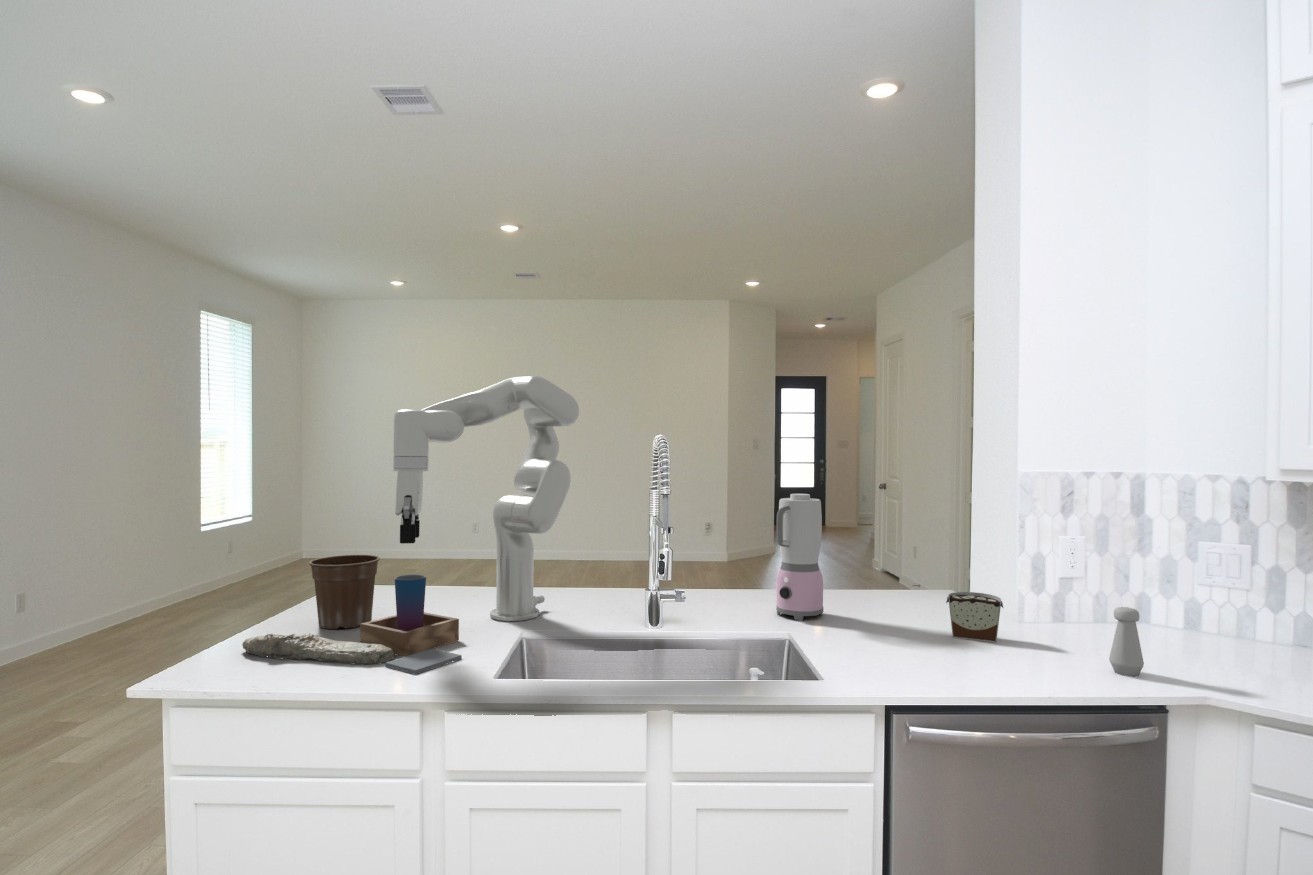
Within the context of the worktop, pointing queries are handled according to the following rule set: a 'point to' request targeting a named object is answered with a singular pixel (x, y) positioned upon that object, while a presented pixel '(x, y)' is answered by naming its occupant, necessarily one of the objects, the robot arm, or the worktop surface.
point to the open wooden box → (411, 634)
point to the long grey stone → (317, 649)
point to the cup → (410, 601)
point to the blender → (799, 556)
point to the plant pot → (344, 589)
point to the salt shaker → (1126, 643)
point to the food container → (974, 615)
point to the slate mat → (423, 661)
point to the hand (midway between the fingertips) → (409, 540)
